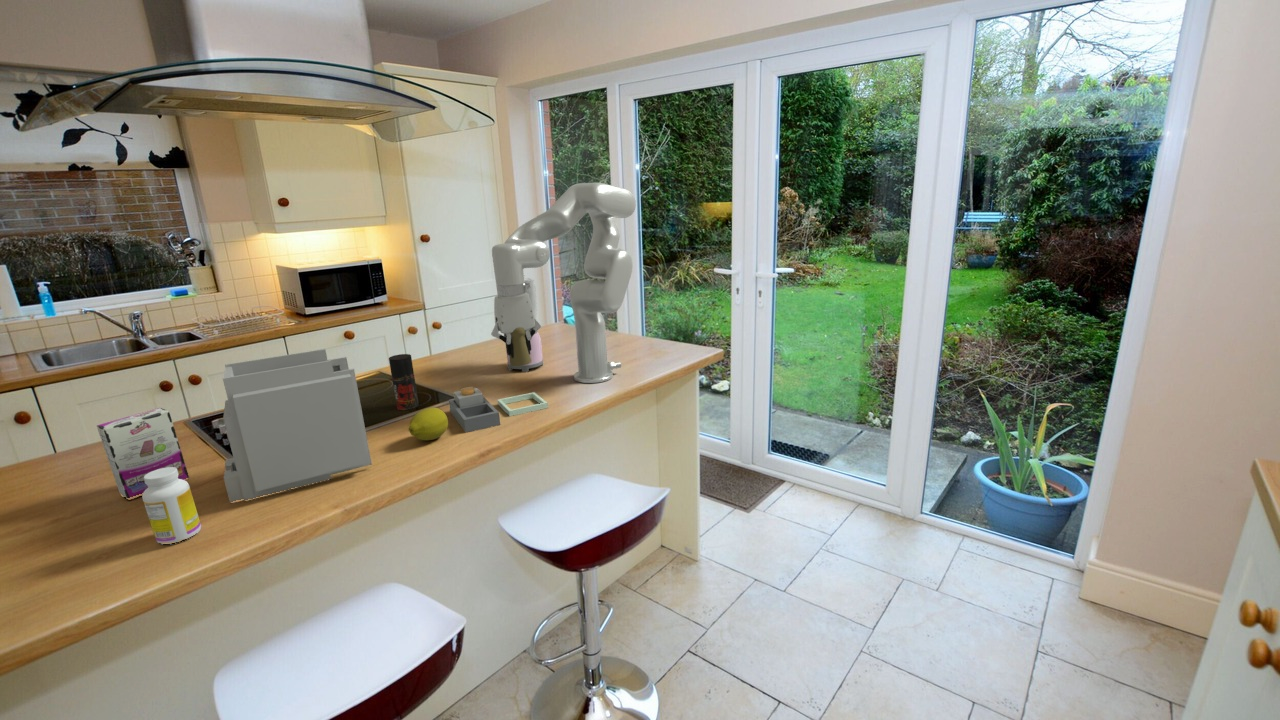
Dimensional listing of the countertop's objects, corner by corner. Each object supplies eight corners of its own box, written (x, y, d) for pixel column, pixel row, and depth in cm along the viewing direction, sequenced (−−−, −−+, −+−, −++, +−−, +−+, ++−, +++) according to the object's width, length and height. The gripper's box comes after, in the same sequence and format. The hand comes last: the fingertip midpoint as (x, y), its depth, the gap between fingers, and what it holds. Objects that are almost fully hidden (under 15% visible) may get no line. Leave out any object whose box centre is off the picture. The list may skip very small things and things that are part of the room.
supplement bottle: (199, 521, 111) (181, 460, 107) (204, 535, 106) (186, 472, 102) (154, 536, 106) (135, 473, 103) (158, 551, 102) (137, 485, 98)
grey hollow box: (450, 411, 163) (448, 399, 162) (482, 405, 167) (480, 393, 166) (465, 432, 148) (464, 419, 147) (500, 424, 152) (498, 412, 151)
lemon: (440, 428, 151) (436, 400, 149) (458, 435, 146) (454, 405, 144) (402, 443, 143) (397, 413, 141) (419, 450, 138) (414, 419, 136)
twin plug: (479, 407, 165) (476, 383, 163) (485, 414, 159) (482, 389, 157) (456, 412, 162) (453, 388, 160) (461, 419, 156) (458, 394, 154)
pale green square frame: (534, 396, 172) (534, 392, 171) (548, 407, 163) (547, 402, 162) (497, 404, 167) (497, 399, 166) (509, 416, 157) (509, 411, 157)
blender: (530, 374, 194) (520, 279, 185) (500, 370, 199) (490, 278, 190) (555, 361, 208) (547, 272, 199) (527, 358, 213) (518, 271, 204)
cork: (534, 358, 164) (529, 321, 161) (528, 365, 158) (523, 326, 155) (513, 359, 165) (508, 322, 161) (506, 366, 159) (501, 327, 156)
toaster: (232, 478, 128) (202, 365, 121) (362, 446, 142) (342, 343, 135) (230, 510, 114) (196, 386, 107) (374, 472, 128) (353, 359, 121)
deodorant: (392, 408, 167) (384, 359, 163) (407, 401, 172) (399, 353, 168) (408, 410, 165) (400, 360, 160) (423, 403, 170) (415, 354, 166)
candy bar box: (180, 474, 131) (161, 406, 126) (190, 479, 128) (170, 410, 124) (118, 496, 122) (94, 424, 117) (127, 502, 119) (104, 428, 115)
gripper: (535, 284, 162) (543, 346, 168) (476, 292, 155) (486, 358, 160) (545, 287, 156) (552, 352, 162) (484, 297, 148) (494, 364, 154)
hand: (519, 354), depth 161 cm, fingers closed on cork, 3 cm apart
